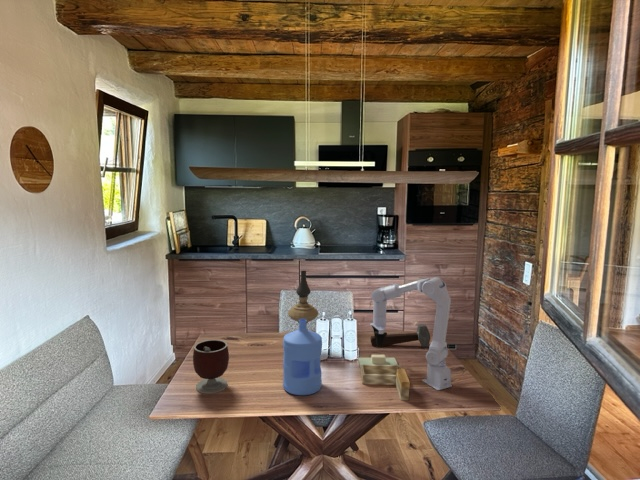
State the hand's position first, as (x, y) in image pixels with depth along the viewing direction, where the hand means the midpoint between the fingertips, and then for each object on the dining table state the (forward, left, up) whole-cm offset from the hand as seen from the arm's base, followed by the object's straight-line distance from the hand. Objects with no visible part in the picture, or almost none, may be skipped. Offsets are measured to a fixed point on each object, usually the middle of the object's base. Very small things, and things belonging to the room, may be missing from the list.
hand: (378, 343), depth 184 cm
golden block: (-25, +7, -5) cm, 27 cm away
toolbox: (-17, +9, -10) cm, 22 cm away
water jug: (-2, +39, -11) cm, 41 cm away
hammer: (+14, -24, -11) cm, 30 cm away
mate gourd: (+14, +72, -11) cm, 74 cm away
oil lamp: (+31, +23, -11) cm, 40 cm away
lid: (0, 0, -11) cm, 11 cm away
